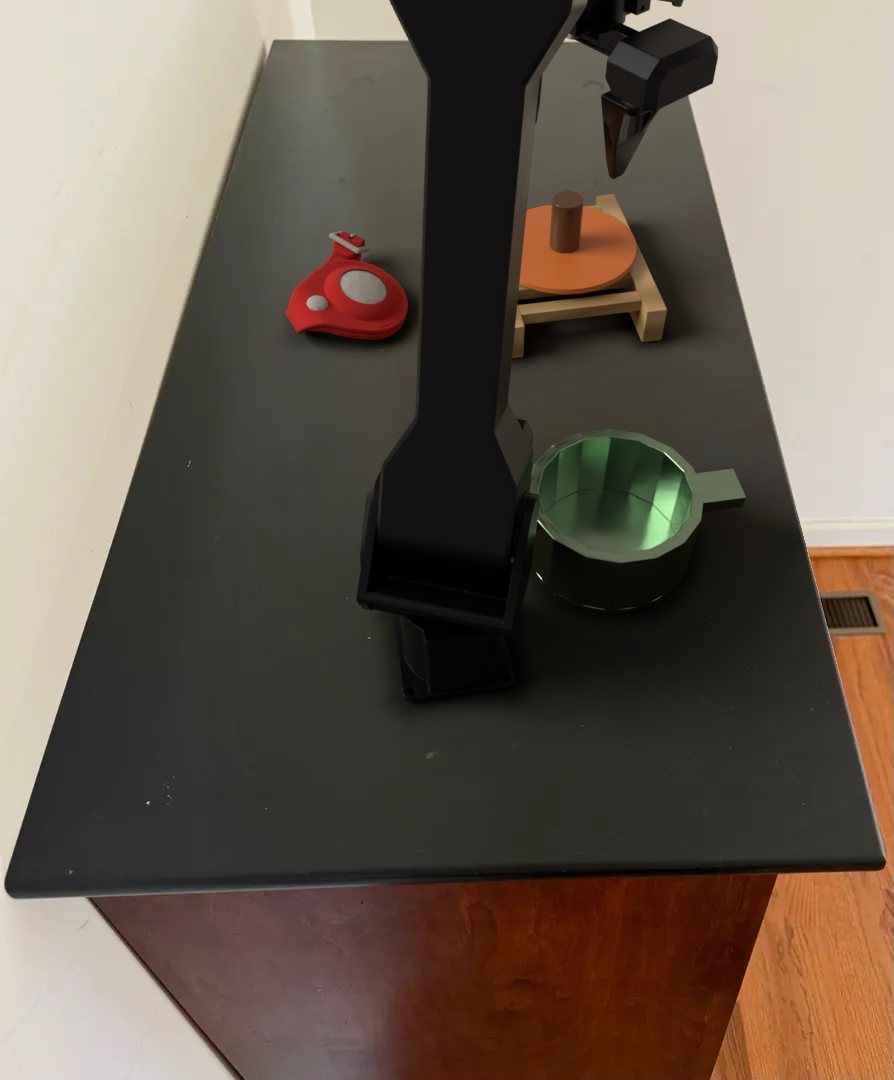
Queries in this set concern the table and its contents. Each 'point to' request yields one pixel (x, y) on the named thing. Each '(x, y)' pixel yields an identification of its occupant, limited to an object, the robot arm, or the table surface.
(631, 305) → the rack
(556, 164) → the table surface
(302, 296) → the tracker holder
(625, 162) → the robot arm
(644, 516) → the pot
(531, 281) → the lid
